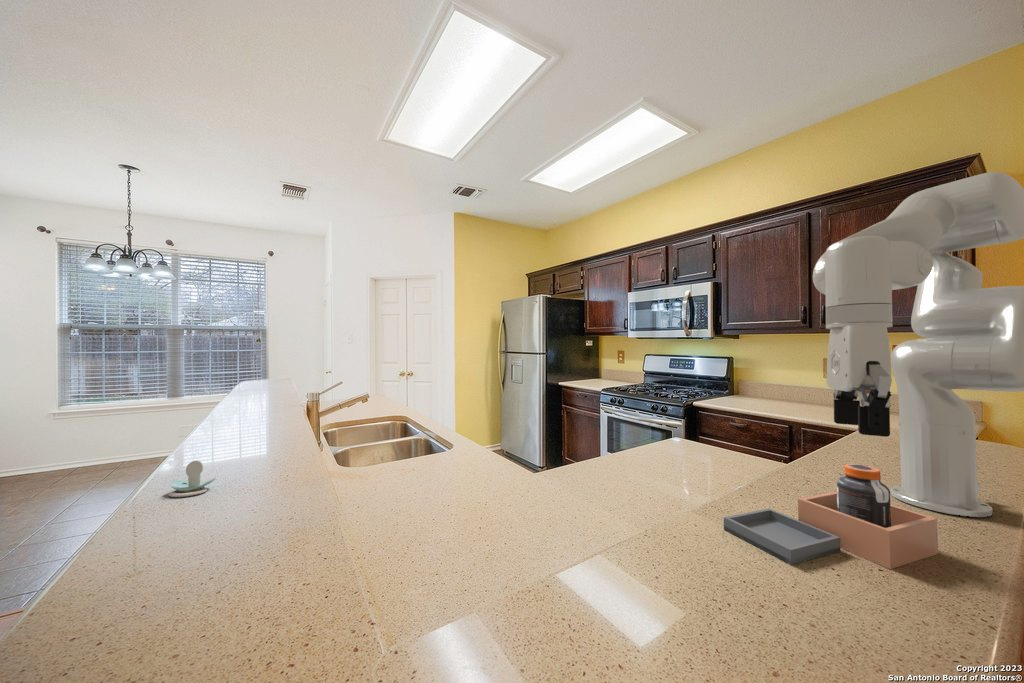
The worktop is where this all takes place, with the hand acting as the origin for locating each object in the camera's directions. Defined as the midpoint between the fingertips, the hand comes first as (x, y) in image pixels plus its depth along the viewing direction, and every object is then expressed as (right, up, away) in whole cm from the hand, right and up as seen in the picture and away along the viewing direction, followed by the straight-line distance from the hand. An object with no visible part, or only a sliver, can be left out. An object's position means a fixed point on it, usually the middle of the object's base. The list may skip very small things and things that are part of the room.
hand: (859, 429), depth 56 cm
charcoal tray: (-12, -17, 0) cm, 21 cm away
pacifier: (-120, -18, +19) cm, 123 cm away
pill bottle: (+1, -17, 0) cm, 17 cm away
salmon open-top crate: (+1, -17, 0) cm, 17 cm away
